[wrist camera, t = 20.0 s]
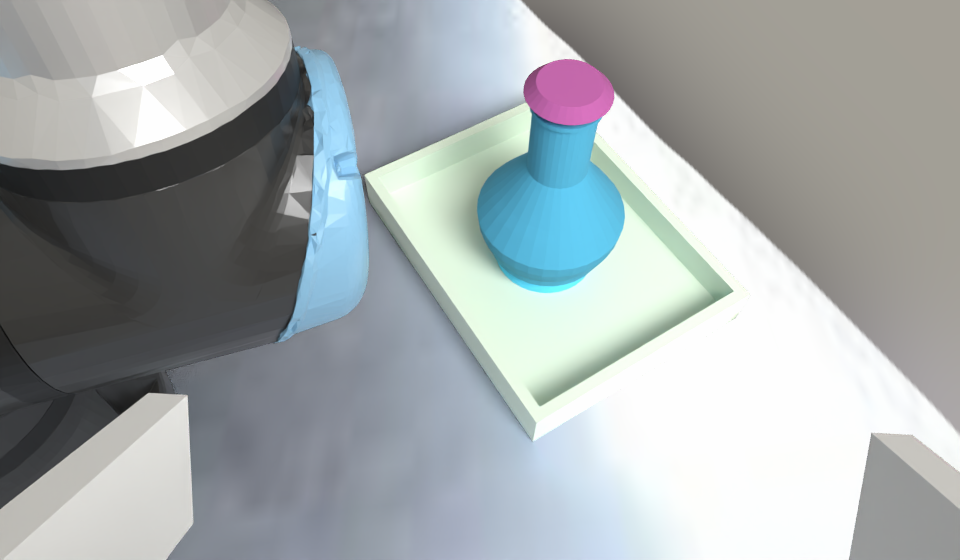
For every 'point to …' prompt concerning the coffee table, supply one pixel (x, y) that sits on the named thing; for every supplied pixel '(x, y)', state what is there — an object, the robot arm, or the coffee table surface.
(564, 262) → the perfume bottle
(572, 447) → the coffee table surface
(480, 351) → the parts tray
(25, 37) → the robot arm
